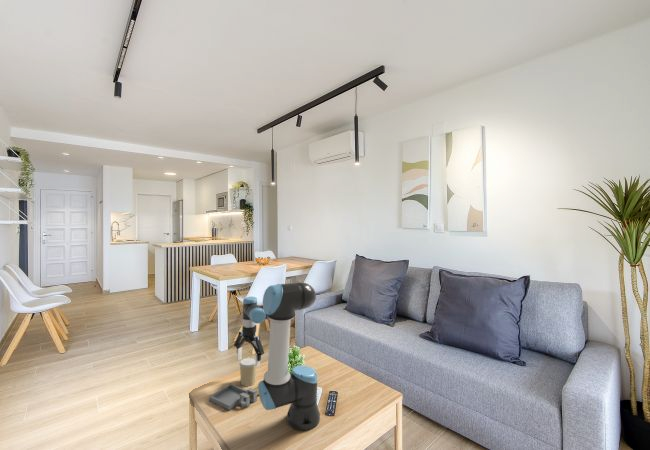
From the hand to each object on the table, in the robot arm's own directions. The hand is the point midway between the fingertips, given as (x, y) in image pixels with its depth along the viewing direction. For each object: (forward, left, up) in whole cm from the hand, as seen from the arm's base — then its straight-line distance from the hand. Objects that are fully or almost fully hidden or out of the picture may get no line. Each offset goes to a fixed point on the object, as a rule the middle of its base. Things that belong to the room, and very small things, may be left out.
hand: (248, 362), depth 170 cm
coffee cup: (0, 0, -11) cm, 11 cm away
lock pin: (-13, +5, -10) cm, 17 cm away
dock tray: (-6, +16, -11) cm, 20 cm away
